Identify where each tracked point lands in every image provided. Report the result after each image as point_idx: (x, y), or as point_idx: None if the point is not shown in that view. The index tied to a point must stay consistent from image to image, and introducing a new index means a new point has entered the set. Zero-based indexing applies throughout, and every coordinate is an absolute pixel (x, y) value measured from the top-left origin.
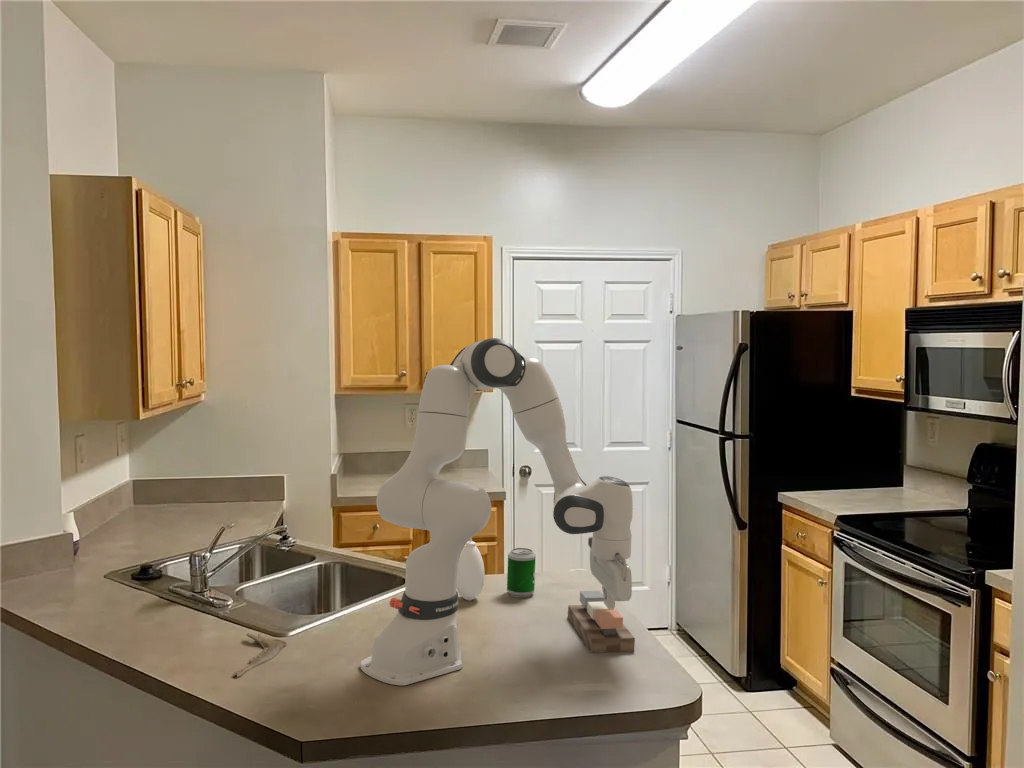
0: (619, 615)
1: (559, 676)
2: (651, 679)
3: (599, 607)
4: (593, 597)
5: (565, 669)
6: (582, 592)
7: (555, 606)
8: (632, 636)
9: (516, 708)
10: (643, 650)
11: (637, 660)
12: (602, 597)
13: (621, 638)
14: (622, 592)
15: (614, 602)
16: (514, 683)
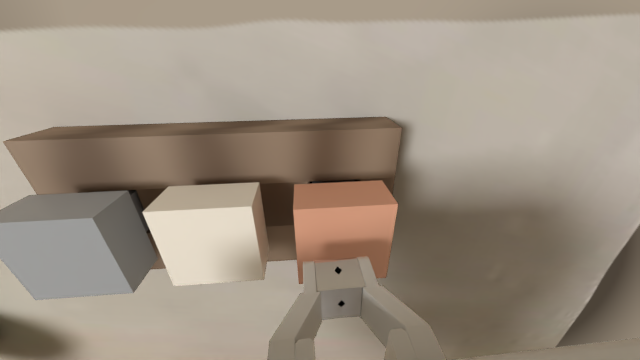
0: (371, 213)
1: (462, 294)
2: (568, 125)
3: (240, 257)
4: (115, 265)
5: (439, 283)
6: (52, 294)
7: None
8: (385, 132)
9: (530, 343)
10: (386, 82)
11: (449, 127)
12: (98, 230)
13: (394, 175)
14: None
15: (375, 280)
16: (460, 343)
